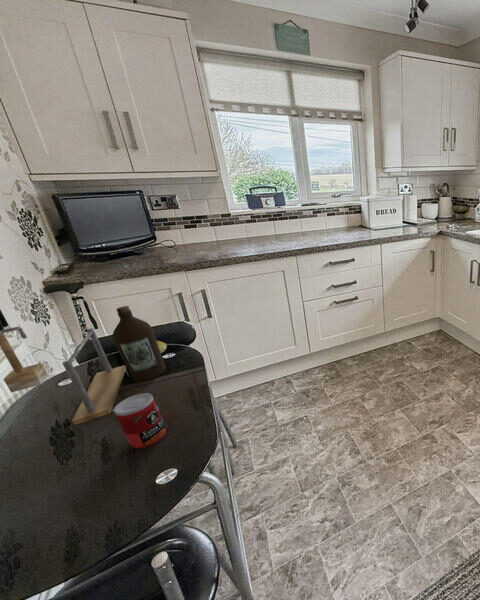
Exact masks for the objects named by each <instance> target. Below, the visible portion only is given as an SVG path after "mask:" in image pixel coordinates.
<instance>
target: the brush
mask: <svg viewBox="0 0 480 600" xmlns="http://www.w3.org/2000/svg"><path fill="white" fill-rule="evenodd" d="M16 331H18V333H19V335H20V337H21V338H22V339H23V340H26V339H27V338H28V336H27V334H26V333H25V330H24V329H23V328H22V327H21V326H15V327H9V328H4V329H3V330H1V331H0V349H1V351H2V352H3V354H4V356H5V358H6V359H7V361H8V363H9V365H10V366H11V368H12V370H10V372H9V373H8V374H6V376H5V377H4V378H3V379H2V380H3V382H4V383H5V384H6V386H7V389H8V390H9V392H10V393H16V392H19V391H23V390H26V389H30V388H34V387H37V386H42V385H43V383H44V382H45V380H46V379H47V378H48V377H49V375H48V373H47V371H46V370H45V367H44V366H43V363H42V362H40V363H36V364H32V365H28V366H24V367H23V365H22V363H21V361H20V360H19V358H18V356H17V354H16V353H15V350H14V349H13V347H12V346H11V344H10V342H9V340H8V339H7V336H6V335H5V333H10V332H16Z"/></svg>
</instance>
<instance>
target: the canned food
mask: <svg viewBox="0 0 480 600" xmlns="http://www.w3.org/2000/svg"><path fill="white" fill-rule="evenodd" d="M113 410H114V411H113V412H114V416H115V417H116V419H117V421H118V423H119V425H120V428H121V430H122V431H123V433H124V436H125V437H126V440H127V442H128V443H129V445H130V446H131V447H132V448H134V449H136V448H137V449H136V450H139V449H140V448H141V449H145V447H146V448H149V447H151V446H153V445H155V444H157V443H158V442H160V441H161V440H162V439H163V438H164V437H165V435H166V434H167V425H166V424H165V422H164V419H163V416H162V414H161V412H160V410H159V407H158V404H157V403H156V400H155V397H154V396H153V395H152V394H151V393H147V392H145V393H138V394H135V395H131V396H129V397H127V398H125V399H123V400H122V401H120V402H119V403H118V404H116V405H115V406H114V407H113ZM156 442H157V443H156ZM148 446H149V447H148Z"/></svg>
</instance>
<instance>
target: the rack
mask: <svg viewBox="0 0 480 600" xmlns="http://www.w3.org/2000/svg"><path fill="white" fill-rule="evenodd" d="M86 332H87V334H86V335H85V336H84V338H83V339H82V340H81V342H80V344H79V345H78V346H77V347H76V349H75V350H74V352H73V353H72V354H71V356H70V357H69V359H67V360H64V361H63V362H62V365H63V367H64V370H65V371H66V373H67V375H68V377H69V379H70V381H71V382H72V385H73V387H74V388H75V390H76V393H77V394H78V397H79V398H80V400H81V403H80V404H79V407H78V408H77V410H76V412H75V414H74V415H73V418H72V420H71V422H72V425H73V426H77V425H80V424H82V423H85V422H89V421H91V420H95V419H98V418H101V417H104V416H106V415H109V414H111V413H112V410H113V408H114V404H115V401H116V398H117V396H118V393H119V390H120V388H121V384H122V382H123V379H124V376H125V374H126V371H127V366H126V364H125V365H124V364H123V365H121V366H116V367H113V368H112V366H111V364H110V361H109V360H108V356H107V355H106V353H105V351H104V349H103V347H102V344H101V343H100V340H99V337H98V336H97V334H96V332H95V330H94V328H93V327H91V328H90V327H89V328H87V329H86ZM89 339H90V340H91V342H92V345H93V346H94V349H95V351H96V353H97V355H98V357H99V359H100V361H101V363H102V365H103V367H104V370H103V371H99V372H96V373H95V374H94V377H93V379H92V381H91V383H90V385H89V387H88V389H87V390H86V388H85V386H84V384H83V381H82V380H81V378H80V377H79V374H78V372H77V371H76V369H75V366H74V365H73V362H74V361H75V359H76V358H77V357H78V355H79V354H80V352H81V351H82V349H83V348H84V347H85V345H86V344H87V342H88V341H89ZM124 373H125V374H124ZM111 409H112V410H111Z"/></svg>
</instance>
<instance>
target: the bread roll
mask: <svg viewBox="0 0 480 600" xmlns="http://www.w3.org/2000/svg"><path fill="white" fill-rule="evenodd" d="M157 343H158V346H159V350H160V353H161V354H163V353H164V352H166V350H167V347H168V346H167V344H166V343H165V342H163V341H160V340H157Z"/></svg>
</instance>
